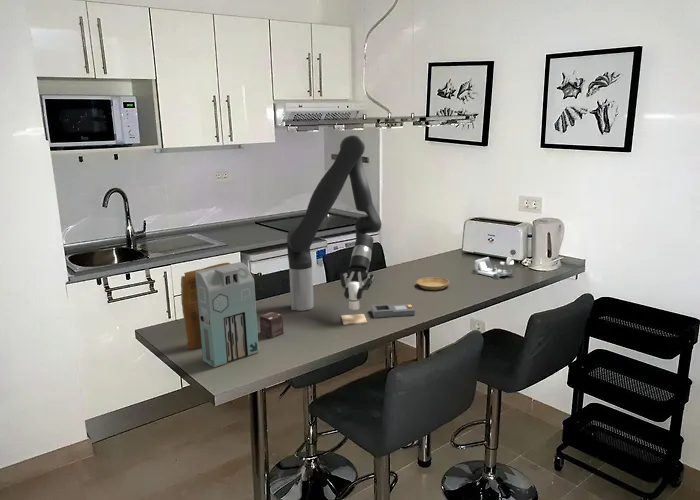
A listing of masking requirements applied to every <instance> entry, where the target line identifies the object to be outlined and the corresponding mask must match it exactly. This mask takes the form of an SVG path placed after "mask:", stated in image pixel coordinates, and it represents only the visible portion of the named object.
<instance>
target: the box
mask: <svg viewBox="0 0 700 500" xmlns="http://www.w3.org/2000/svg"><path fill="white" fill-rule="evenodd" d="M283 316H284V315H283V314H281V313H277V312H273V311H270V312H267V313H265V314H261V315H259V326H260V327H259V328H260V330H259V331H260V335H261V336H263V337H267V338H269V339H273V338H275V337H279V336H280V335H283V334H284V318H283Z"/></svg>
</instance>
